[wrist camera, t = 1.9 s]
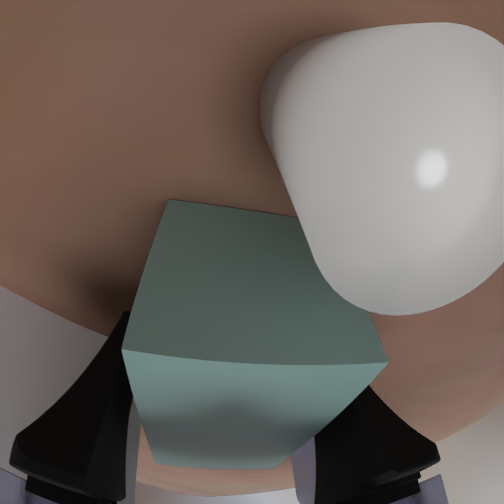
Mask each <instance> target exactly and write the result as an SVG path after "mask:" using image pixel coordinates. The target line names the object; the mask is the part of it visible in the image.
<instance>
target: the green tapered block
mask: <svg viewBox="0 0 504 504" xmlns="http://www.w3.org/2000/svg"><path fill="white" fill-rule="evenodd" d="M122 354H123V358H124V362H125V367H126V371H127V375H128V378H129V382H130V386H131V390H132V393H133V397H134V400H135V404H136V407H137V410H138V414H139V417H140V420H141V423H142V426H143V429H144V432H145V435H146V438H147V441H148V444H149V446H150V449H151V452H152V455H153V457H154V460H155V462H156V464H163V465H171V466H181V467H193V468H209V469H268V468H275V467H276V466H277V465H279V464H280V463H281V462H283V461H284V460H285V459H287V458H288V457H289V456H290V455H292V454H293V453H294V452H296V451H297V450H298V449H299V448H301V447H302V446H303V445H304V444H305V443H307V442H308V441H309V440H310V439H311V438H313V437H314V436H315V435H316V434H317V433H318V432H320V431H321V430H322V429H323V428H324V427H325V426H326V425H327V424H329V423H330V422H331V421H332V420H333V419H334V418H335V417H336V416H337V415H338V414H339V413H341V412H342V411H343V410H344V409H345V408H346V407H347V406H348V405H349V404H350V403H351V402H352V401H353V400H354V399H355V398H356V397H357V396H358V395H359V394H360V393H361V392H362V391H363V390H364V389H365V388H366V387H367V386H368V385H369V384H370V383H371V381H372V380H373V379H374V378H375V377H376V376H377V375H378V374H379V373H380V372H381V371H382V369H383V368H384V367H385V366H386V365H387V364H388V363H389V361H388V359H387V356H386V354H385V351H384V349H383V346H382V344H381V341H380V339H379V336H378V334H377V332H376V329H375V327H374V325H373V322H372V320H371V318H370V315H369V313H368V311H367V310H364V309H362V308H359V307H357V306H355V305H353V304H352V303H350V302H348V301H347V300H345V299H344V298H343V297H341V296H340V295H339V294H338V293H337V292H336V291H335V290H334V289H333V288H332V287H331V286H330V285H329V283H328V282H327V281H326V279H325V278H324V277H323V275H322V273H321V272H320V270H319V268H318V266H317V264H316V262H315V260H314V257H313V255H312V252H311V249H310V247H309V244H308V241H307V239H306V236H305V233H304V231H303V228H302V226H301V223H300V221H299V218H296V217H290V216H283V215H277V214H271V213H264V212H258V211H251V210H244V209H238V208H231V207H224V206H216V205H209V204H202V203H194V202H186V201H178V200H170V199H169V200H168V202H167V205H166V208H165V210H164V213H163V216H162V218H161V221H160V224H159V227H158V229H157V232H156V235H155V238H154V241H153V244H152V247H151V249H150V252H149V255H148V258H147V262H146V265H145V268H144V271H143V274H142V277H141V280H140V284H139V287H138V290H137V294H136V297H135V300H134V304H133V307H132V311H131V314H130V318H129V322H128V325H127V329H126V333H125V337H124V341H123V345H122Z"/></svg>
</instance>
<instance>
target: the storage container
mask: <svg viewBox="0 0 504 504" xmlns="http://www.w3.org/2000/svg"><path fill="white" fill-rule="evenodd" d="M107 339H108V337H107V336H104V335H102V334H100V333H97V332H95V331H92V330H90V329H88V328H85V327H83V326H81V325H78V324H76V323H74V322H72V321H69V320H67V319H65V318H63V317H61V316H59V315H57V314H54V313H52V312H50V311H48V310H46V309H44V308H42V307H40V306H38V305H36V304H34V303H32V302H30V301H28V300H27V299H25V298H23V297H21V296H19V295H17V294H15V293H14V292H12V291H10V290H8V289H6V288H5V287H3V286H1V285H0V467H1V468H3V469H5V470H7V471H9V472H11V473H13V474H15V475H17V476H19V477H21V478H23V479H26V480H27V474H25V473H23V472H21V471H19V470H17V469H15V468H14V467H12V466H11V465H10V464H9V459H10V454H11V449H12V445H13V442H14V440H15V437H16V435H17V434H18V433H19V432H21V431H22V430H23V429H25V428H26V427H27V426H29V425H30V424H31V423H33V422H34V421H35V420H36V419H38V418H39V417H40V416H41V415H42V414H43V413H44V412H45V411H47V410H48V409H49V408H50V407H51V406H52V405H53V404H54V403H55V402H56V401H57V400H58V399H59V398H60V397H61V396H62V395H63V394H64V393H65V392H66V391H67V390H68V389H69V388H70V387H71V386H72V385H73V383H74V382H75V381H76V380H77V379H78V378H79V377H80V375H81V374H82V373H83V372H84V370H85V369H86V368H87V366H88V365H89V364H90V362H91V361H92V360H93V359H94V357H95V356H96V355H97V353H98V352H99V350H100V349H101V347H102V346H103V344H104V343H105V342H106V340H107ZM140 428H141V420H140V417H139V414H138V410H137V407H136V404H135V400H134V397H133V401H132V405H131V410H130V415H129V422H128V433H127V447H126V498H125V499H123V500H122V501H120V502H119V501H117V504H134V502H135V483H136V470H137V458H138V447H139V437H140Z"/></svg>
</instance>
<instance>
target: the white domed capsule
mask: <svg viewBox="0 0 504 504" xmlns="http://www.w3.org/2000/svg"><path fill="white" fill-rule="evenodd" d="M259 117H260V124H261V127H262V131H263V134H264V136H265V139H266V141H267V143H268V146H269V148H270V150H271V153H272V155H273V157H274V160H275V162H276V164H277V167H278V169H279V171H280V174H281V176H282V179H283V181H284V183H285V186H286V188H287V191H288V193H289V196H290V198H291V201H292V203H293V205H294V208H295V210H296V213H297V216H298V218H299V221H300V223H301V226H302V228H303V231H304V233H305V236H306V239H307V241H308V244H309V247H310V249H311V252H312V255H313V257H314V260H315V262H316V264H317V266H318V268H319V270H320V272H321V273H322V275H323V277H324V278H325V279H326V281H327V282H328V283H329V285H330V286H331V287H332V288H333V289H334V290H335V291H336V292H337V293H338V294H339V295H340V296H341V297H343V298H344V299H345V300H347V301H348V302H350V303H352V304H353V305H355V306H357V307H359V308H362V309H364V310H367V311H370V312H374V313H378V314H384V315H410V314H417V313H422V312H426V311H430V310H433V309H436V308H439V307H441V306H444V305H446V304H449V303H451V302H453V301H455V300H457V299H459V298H460V297H462V296H464V295H465V294H467V293H468V292H470V291H472V290H473V289H474V288H476V287H477V286H478V285H480V284H481V283H482V282H483V281H485V280H486V279H487V278H488V277H489V276H490V275H491V274H493V273H494V272H495V271H496V269H497V268H498V267H499V266H500V265H501V264H502V263H503V262H504V46H503V45H502V44H501V43H500V42H498V41H497V40H496V39H494V38H493V37H491V36H489V35H487V34H486V33H484V32H482V31H480V30H477V29H474V28H472V27H469V26H466V25H460V24H454V23H415V24H401V25H390V26H381V27H373V28H366V29H359V30H353V31H347V32H342V33H337V34H332V35H327V36H322V37H318V38H314V39H310V40H307V41H304V42H302V43H299V44H297V45H296V46H294V47H292V48H291V49H289V50H288V51H287V52H285V53H284V54H283V55H282V56H281V57H280V58H279V59H278V60H277V61H276V62H275V63H274V65H273V66H272V68H271V69H270V71H269V72H268V74H267V76H266V78H265V80H264V83H263V86H262V89H261V93H260V100H259Z"/></svg>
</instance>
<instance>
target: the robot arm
mask: <svg viewBox="0 0 504 504" xmlns="http://www.w3.org/2000/svg"><path fill="white" fill-rule="evenodd" d="M130 314H131V311H125V312H123V314H122V316H121V318H120V319H119V321H118V323H117V324H116V326H115V328H114V329H113V331H112V332H111V334H110V336H109V337H108V339H107V340H106V342H105V343H104V344H103V346H102V347H101V349H100V350H99V352H98V353H97V355H96V356H95V357H94V359H93V360H92V361H91V362H90V364H89V365H88V366H87V368H86V369H85V370H84V372H83V373H82V374H81V375H80V377H79V378H78V379H77V380H76V381H75V382H74V383H73V385H72V386H71V387H70V388H69V389H68V390H67V391H66V392H65V393H64V394H63V395H62V396H61V397H60V398H59V399H58V400H57V401H56V402H55V403H54V404H53V405H52V406H51V407H50V408H49V409H48V410H47V411H45V412H44V413H43V414H42V415H41V416H40V417H39V418H38V419H36V420H35V421H34V422H33V423H31V424H30V425H29V426H27V427H26V428H25V429H23V430H22V431H21V432H19V433H18V434H17V435H16V437H15V440H14V442H13V445H12V449H11V454H10V459H9V464H10V465H11V466H12V467H14V468H15V469H17V470H19V471H21V472H23V473H25V474H27V480H26V479H23V478H21V477H19V476H17V475H15V474H13V473H11V472H9V471H7V470H5V469H3V468H1V467H0V504H117V501H119V502H120V501H122V500H123V499H125V498H126V447H127V433H128V422H129V415H130V410H131V405H132V401H133V393H132V390H131V386H130V382H129V378H128V375H127V371H126V367H125V362H124V358H123V354H122V345H123V341H124V337H125V333H126V329H127V325H128V322H129V318H130ZM291 459H292V466H293V473H294V481H295V488H296V494H297V498H298V501H299V503H300V504H448V500H447V496H446V492H445V488H444V484H443V480H442V477H441V475H440V474H439V475H437V476H435V477H432V478H430V479H428V480H425V481H423V482H421V483H418V479H419V478H421V475H420V471H422V470H424V469H426V468H428V467H430V466H432V465H434V464H436V463H437V462H439V461H440V456H439V452H438V449H437V446H436V444H435V443H434V442H432V441H431V440H429V439H427V438H426V437H424V436H423V435H421V434H420V433H418V432H417V431H416V430H414V429H413V428H412V427H410V426H409V425H408V424H407V423H405V422H404V421H403V420H402V419H401V418H400V417H399V416H397V415H396V414H395V413H394V412H393V411H392V410H391V409H390V408H389V407H388V406H387V405H386V404H385V403H384V402H383V401H382V400H381V399H380V398H379V397H378V395H377V394H376V393H375V392H374V391H373V390H372V388H371V387H370V386H369V385H368V386H367V387H366V388H365V389H364V390H363V391H362V392H361V393H360V394H359V395H358V396H357V397H356V398H355V399H354V400H353V401H352V402H351V403H350V404H349V405H348V406H347V407H346V408H345V409H344V410H343V411H342V412H341V413H339V414H338V415H337V416H336V417H335V418H334V419H333V420H332V421H331V422H330V423H329V424H327V425H326V426H325V427H324V428H323V429H322V430H321V431H320V432H318V433H317V434H316V435H315V436H314V437H313V438H311V439H310V440H309V441H308V442H307V443H305V444H304V445H303V446H302V447H301V448H299V449H298V450H297V451H296V452H294V453H293V454H292V455H291Z"/></svg>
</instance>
